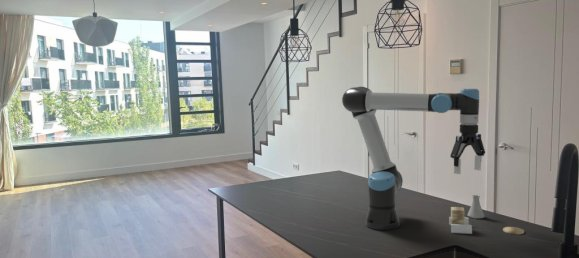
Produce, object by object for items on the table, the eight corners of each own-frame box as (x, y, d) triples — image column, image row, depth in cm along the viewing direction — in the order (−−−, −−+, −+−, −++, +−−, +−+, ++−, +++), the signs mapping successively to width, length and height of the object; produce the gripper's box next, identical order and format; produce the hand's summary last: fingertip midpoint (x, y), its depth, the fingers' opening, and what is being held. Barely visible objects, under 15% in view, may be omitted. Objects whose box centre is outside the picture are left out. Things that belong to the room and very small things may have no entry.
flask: (474, 219, 200) (474, 198, 199) (464, 215, 207) (464, 194, 206) (487, 218, 202) (487, 196, 201) (477, 213, 209) (477, 193, 208)
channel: (451, 232, 185) (451, 224, 184) (449, 224, 195) (449, 216, 195) (471, 233, 182) (471, 225, 182) (468, 225, 193) (468, 217, 193)
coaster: (505, 234, 180) (505, 232, 180) (501, 227, 188) (501, 226, 188) (526, 235, 178) (526, 233, 178) (521, 228, 186) (521, 227, 186)
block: (452, 230, 187) (452, 210, 186) (451, 226, 192) (450, 206, 191) (464, 231, 186) (464, 210, 185) (463, 227, 191) (463, 207, 190)
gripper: (457, 126, 181) (455, 176, 184) (494, 122, 194) (493, 169, 196) (442, 125, 188) (441, 173, 190) (479, 121, 200) (478, 167, 202)
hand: (467, 171), depth 193 cm, fingers open, 13 cm apart
